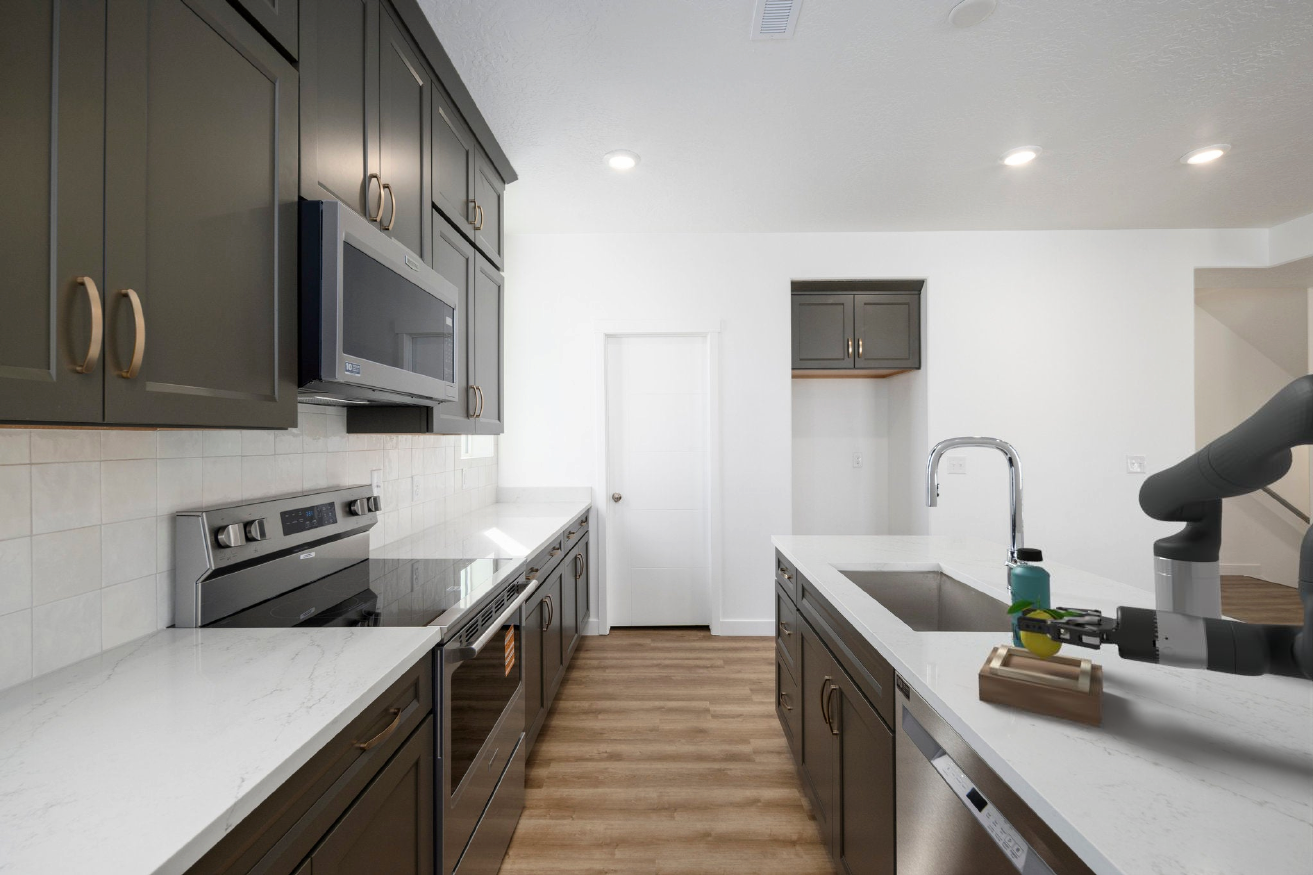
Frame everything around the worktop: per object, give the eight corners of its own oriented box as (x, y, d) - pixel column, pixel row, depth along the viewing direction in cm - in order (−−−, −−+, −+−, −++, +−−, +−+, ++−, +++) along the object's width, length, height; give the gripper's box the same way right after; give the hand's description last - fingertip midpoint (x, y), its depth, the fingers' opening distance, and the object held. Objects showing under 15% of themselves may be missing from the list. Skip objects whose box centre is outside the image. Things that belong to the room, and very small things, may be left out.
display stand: (994, 669, 101) (994, 640, 101) (1103, 690, 91) (1101, 659, 91) (979, 699, 89) (978, 667, 89) (1101, 727, 80) (1099, 691, 80)
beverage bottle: (1041, 649, 110) (1037, 545, 110) (1062, 662, 103) (1058, 551, 104) (1005, 649, 110) (1001, 545, 111) (1023, 662, 104) (1020, 551, 104)
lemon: (1008, 656, 92) (1005, 593, 92) (1032, 649, 94) (1029, 588, 95) (1051, 670, 86) (1047, 603, 86) (1075, 662, 88) (1072, 597, 89)
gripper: (1155, 599, 87) (1024, 585, 98) (1161, 623, 76) (1012, 604, 87) (1158, 649, 87) (1026, 630, 98) (1164, 680, 76) (1014, 654, 86)
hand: (1020, 618), depth 92 cm, fingers closed on lemon, 5 cm apart
